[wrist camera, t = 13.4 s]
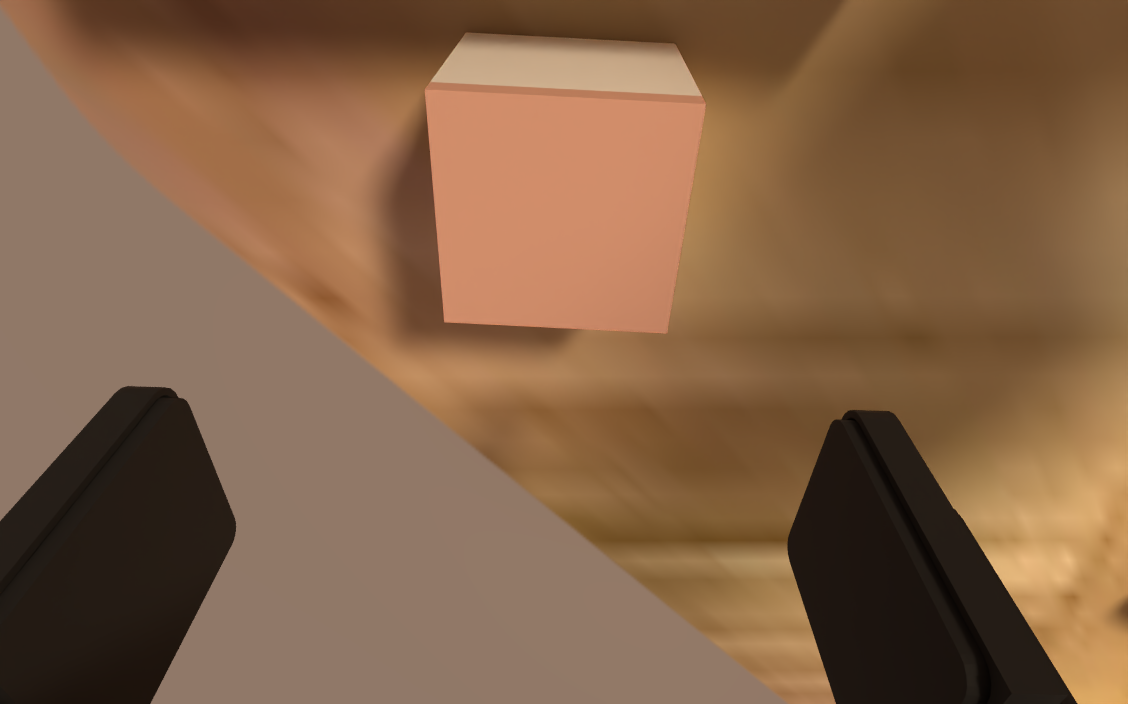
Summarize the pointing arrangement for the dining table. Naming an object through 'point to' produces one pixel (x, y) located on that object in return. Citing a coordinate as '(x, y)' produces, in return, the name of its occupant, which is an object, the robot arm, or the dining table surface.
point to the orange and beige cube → (562, 180)
